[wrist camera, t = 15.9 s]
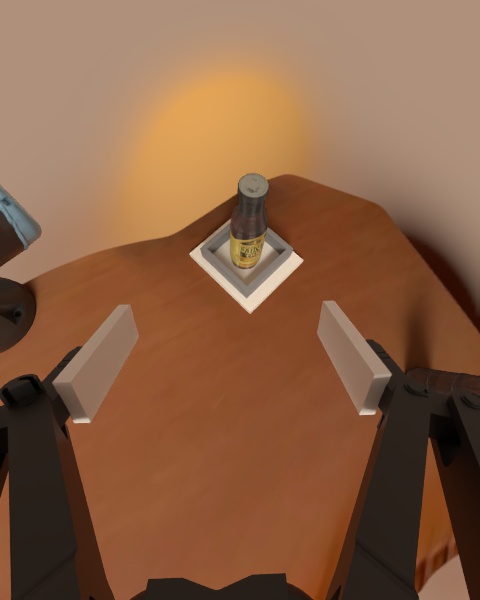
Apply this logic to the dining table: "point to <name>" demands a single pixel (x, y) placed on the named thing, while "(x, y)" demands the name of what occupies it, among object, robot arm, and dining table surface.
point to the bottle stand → (246, 282)
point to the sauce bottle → (249, 221)
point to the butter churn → (445, 380)
